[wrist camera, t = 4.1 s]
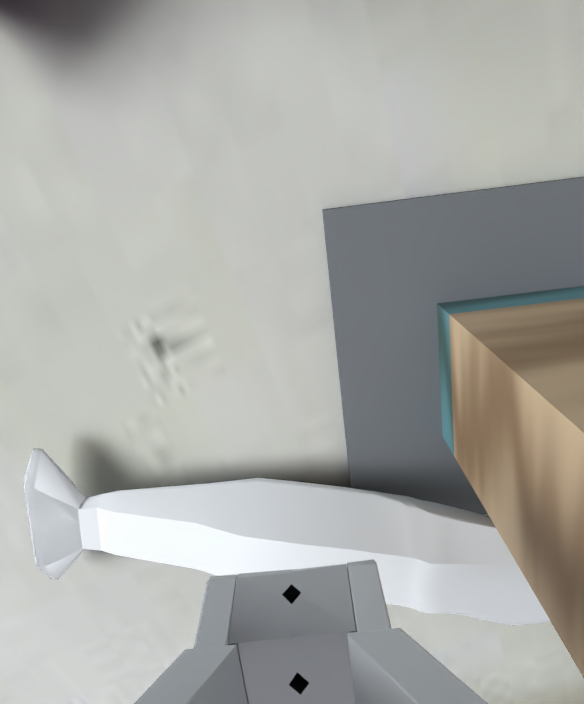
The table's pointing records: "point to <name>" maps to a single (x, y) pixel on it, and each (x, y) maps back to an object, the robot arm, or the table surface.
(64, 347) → the table surface
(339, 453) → the table surface
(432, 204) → the rubber mat
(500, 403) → the oak block
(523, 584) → the white fish figurine
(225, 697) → the robot arm
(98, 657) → the table surface
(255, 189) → the table surface
